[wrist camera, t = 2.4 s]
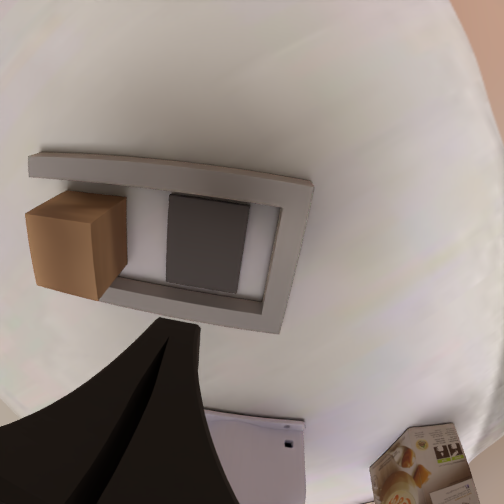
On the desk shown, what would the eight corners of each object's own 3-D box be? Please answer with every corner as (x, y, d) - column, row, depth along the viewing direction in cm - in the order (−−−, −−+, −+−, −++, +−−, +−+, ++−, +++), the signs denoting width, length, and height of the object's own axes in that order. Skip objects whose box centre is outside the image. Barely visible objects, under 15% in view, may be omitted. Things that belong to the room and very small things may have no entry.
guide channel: (311, 181, 15) (314, 187, 14) (278, 321, 18) (279, 334, 17) (40, 152, 15) (27, 156, 13) (52, 277, 18) (43, 286, 17)
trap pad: (250, 205, 15) (249, 207, 15) (237, 290, 18) (236, 293, 17) (170, 193, 15) (169, 195, 15) (167, 278, 18) (165, 281, 17)
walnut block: (127, 196, 16) (90, 223, 12) (128, 263, 17) (98, 301, 14) (67, 190, 16) (25, 213, 12) (72, 252, 17) (36, 285, 14)
